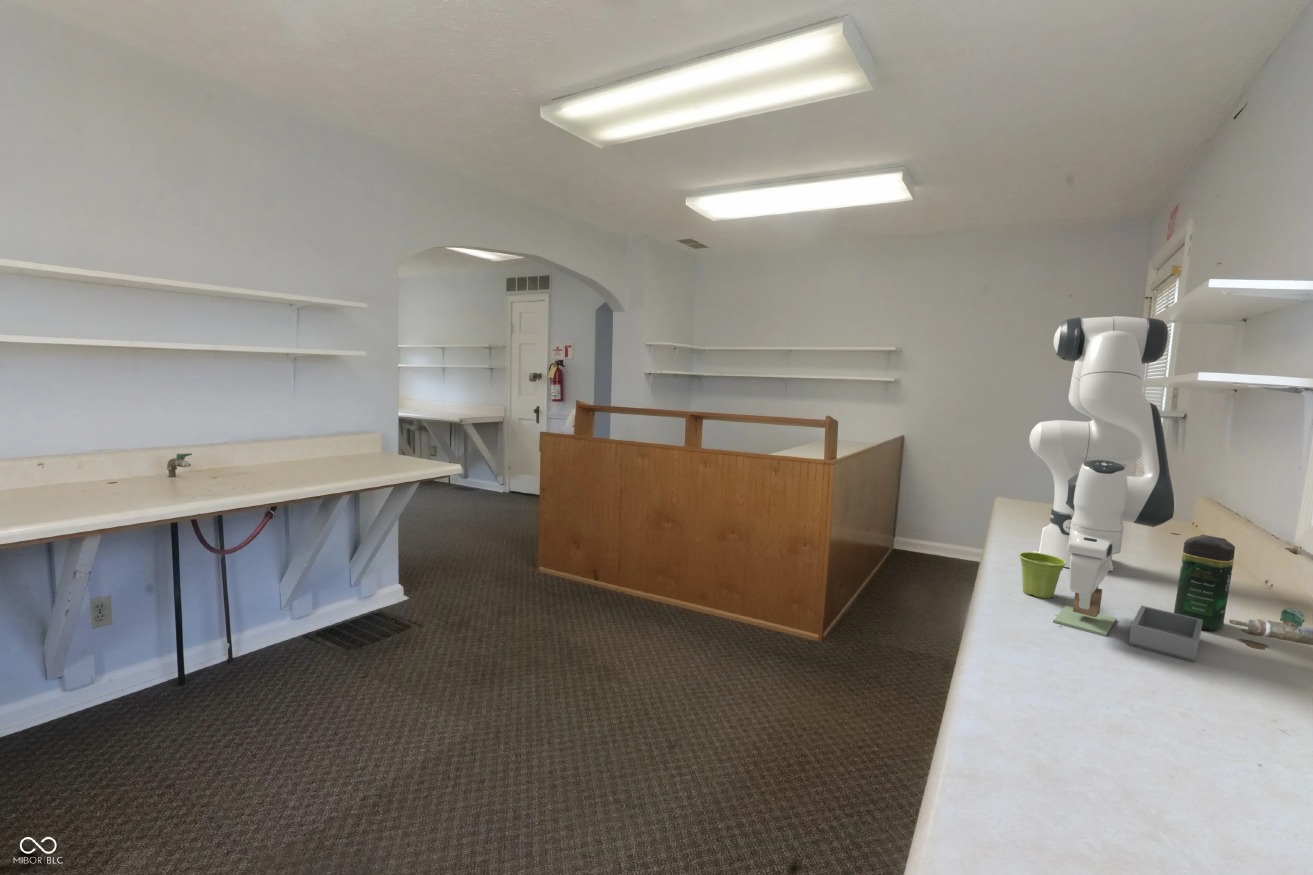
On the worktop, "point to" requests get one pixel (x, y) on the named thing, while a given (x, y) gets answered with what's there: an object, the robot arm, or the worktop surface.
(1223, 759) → the worktop surface
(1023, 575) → the plant pot
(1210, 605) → the coffee jar
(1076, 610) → the walnut block
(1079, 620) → the olive mat
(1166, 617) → the grey bin
